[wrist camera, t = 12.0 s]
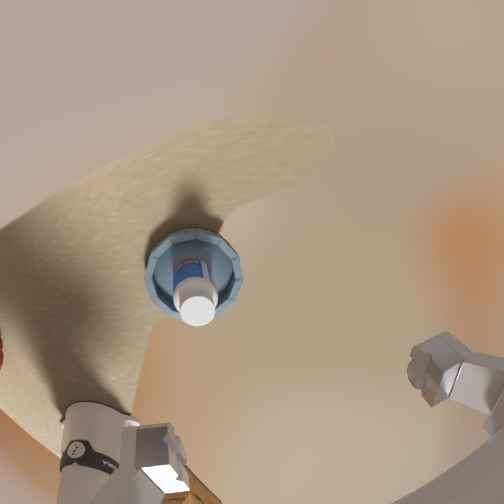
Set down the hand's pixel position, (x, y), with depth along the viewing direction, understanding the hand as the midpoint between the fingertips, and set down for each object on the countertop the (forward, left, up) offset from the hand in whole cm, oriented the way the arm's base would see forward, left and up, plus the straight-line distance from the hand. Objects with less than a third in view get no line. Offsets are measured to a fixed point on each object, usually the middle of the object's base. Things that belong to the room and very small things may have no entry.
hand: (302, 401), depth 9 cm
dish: (-10, +4, -34) cm, 36 cm away
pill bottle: (-10, +4, -34) cm, 35 cm away
